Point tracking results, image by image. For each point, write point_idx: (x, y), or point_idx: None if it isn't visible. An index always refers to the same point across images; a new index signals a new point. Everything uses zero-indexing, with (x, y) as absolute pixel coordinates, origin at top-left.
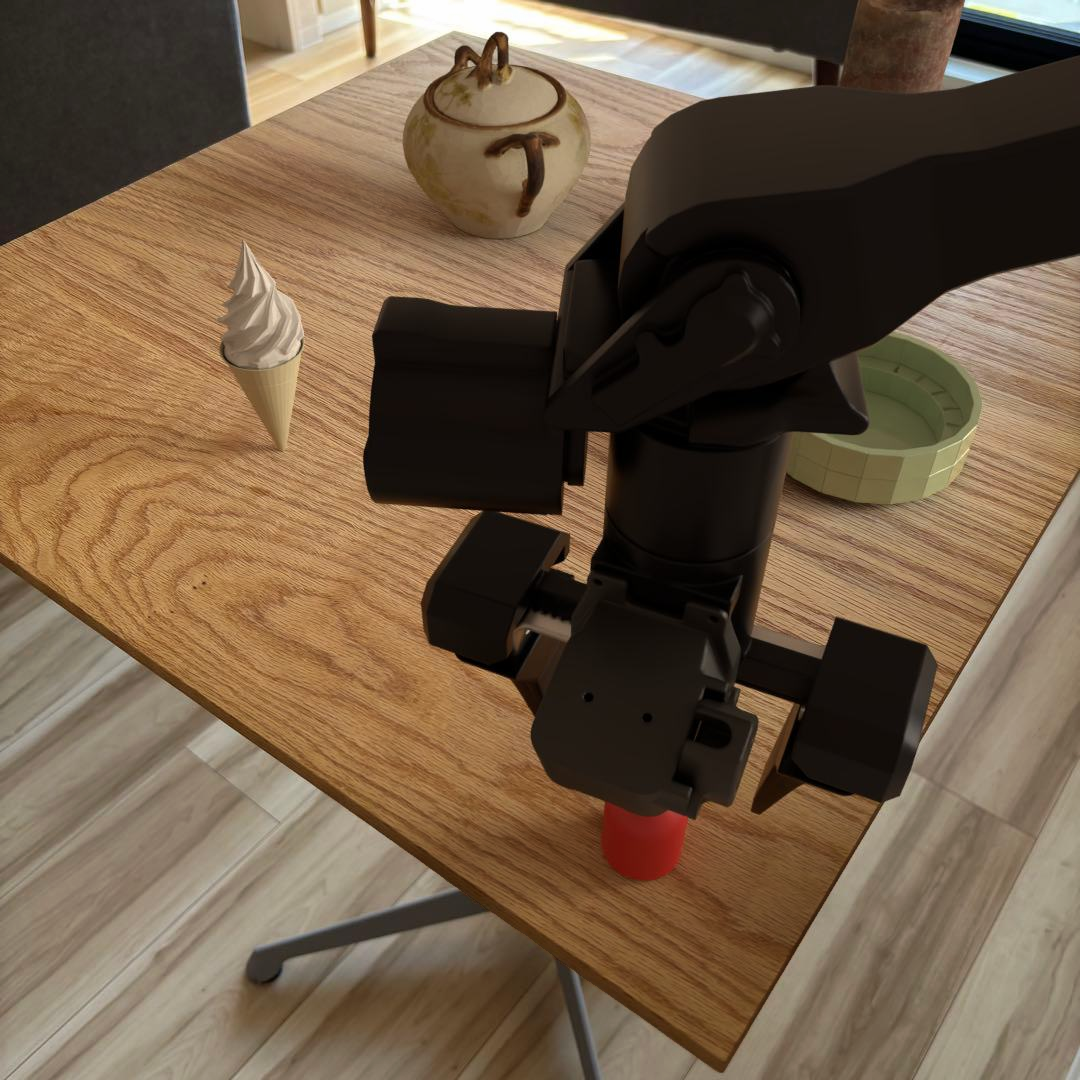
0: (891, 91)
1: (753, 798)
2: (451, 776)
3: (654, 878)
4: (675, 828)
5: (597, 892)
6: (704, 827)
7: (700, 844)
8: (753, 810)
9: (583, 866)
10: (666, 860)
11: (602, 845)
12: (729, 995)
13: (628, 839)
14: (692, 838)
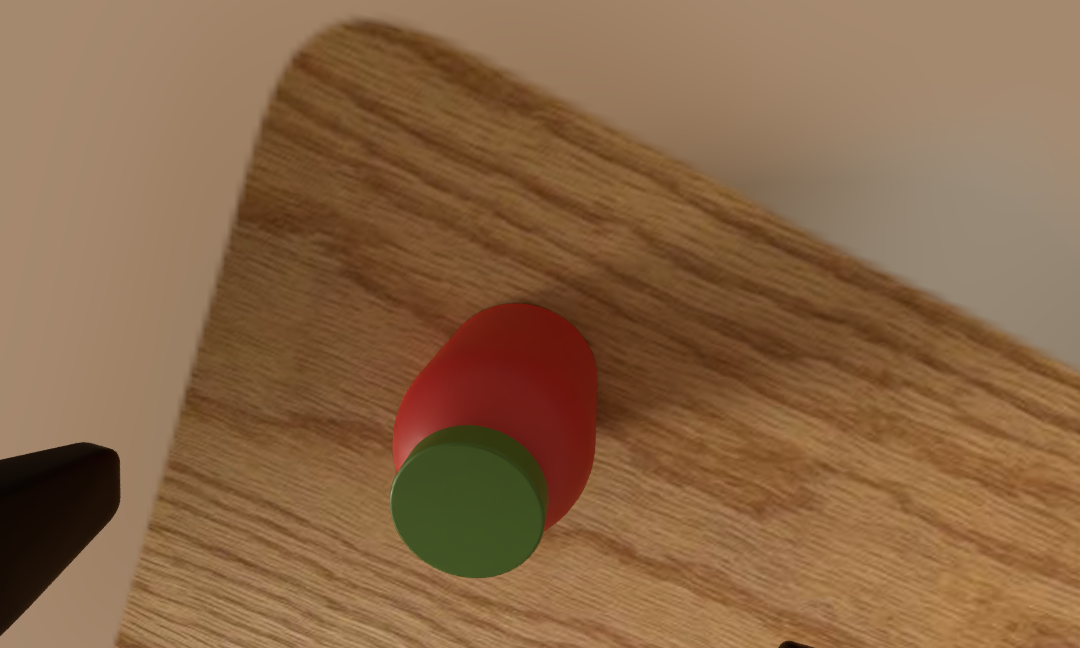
0: None
1: (1, 497)
2: (924, 475)
3: (484, 310)
4: (410, 395)
5: (592, 266)
6: None
7: None
8: (85, 454)
9: (626, 317)
10: (452, 337)
11: (592, 362)
12: (313, 95)
13: (524, 357)
14: None
